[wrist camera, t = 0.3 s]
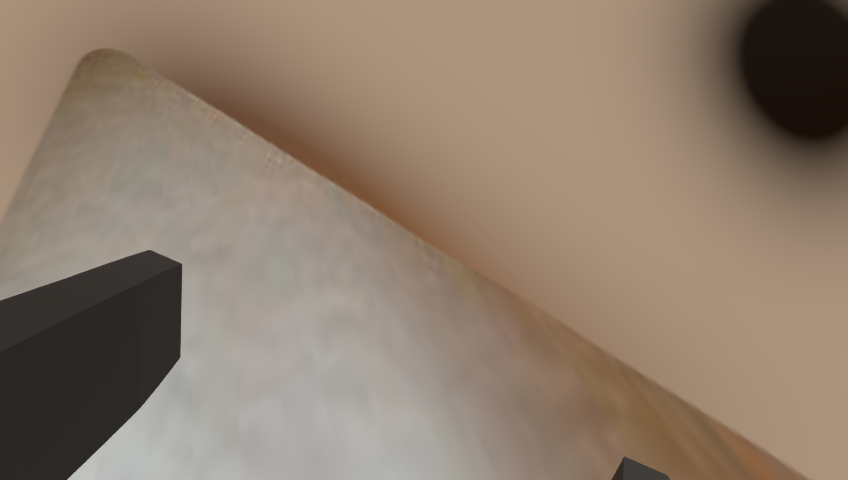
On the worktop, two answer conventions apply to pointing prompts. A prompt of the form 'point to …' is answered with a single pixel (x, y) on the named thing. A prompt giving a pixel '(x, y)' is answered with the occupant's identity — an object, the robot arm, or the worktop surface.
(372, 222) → the worktop surface
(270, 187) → the worktop surface
